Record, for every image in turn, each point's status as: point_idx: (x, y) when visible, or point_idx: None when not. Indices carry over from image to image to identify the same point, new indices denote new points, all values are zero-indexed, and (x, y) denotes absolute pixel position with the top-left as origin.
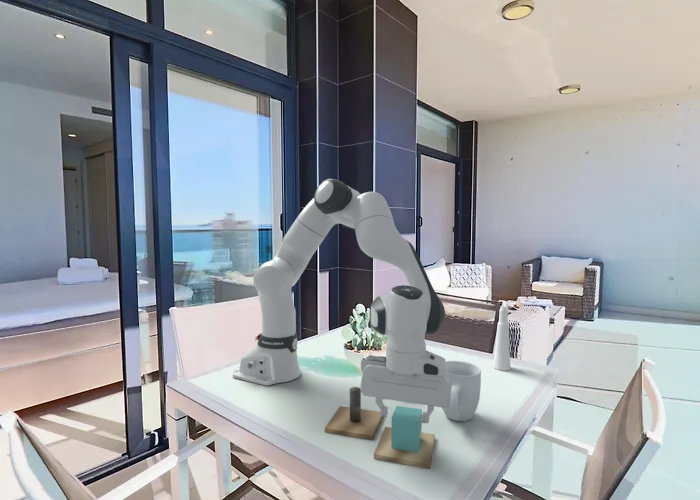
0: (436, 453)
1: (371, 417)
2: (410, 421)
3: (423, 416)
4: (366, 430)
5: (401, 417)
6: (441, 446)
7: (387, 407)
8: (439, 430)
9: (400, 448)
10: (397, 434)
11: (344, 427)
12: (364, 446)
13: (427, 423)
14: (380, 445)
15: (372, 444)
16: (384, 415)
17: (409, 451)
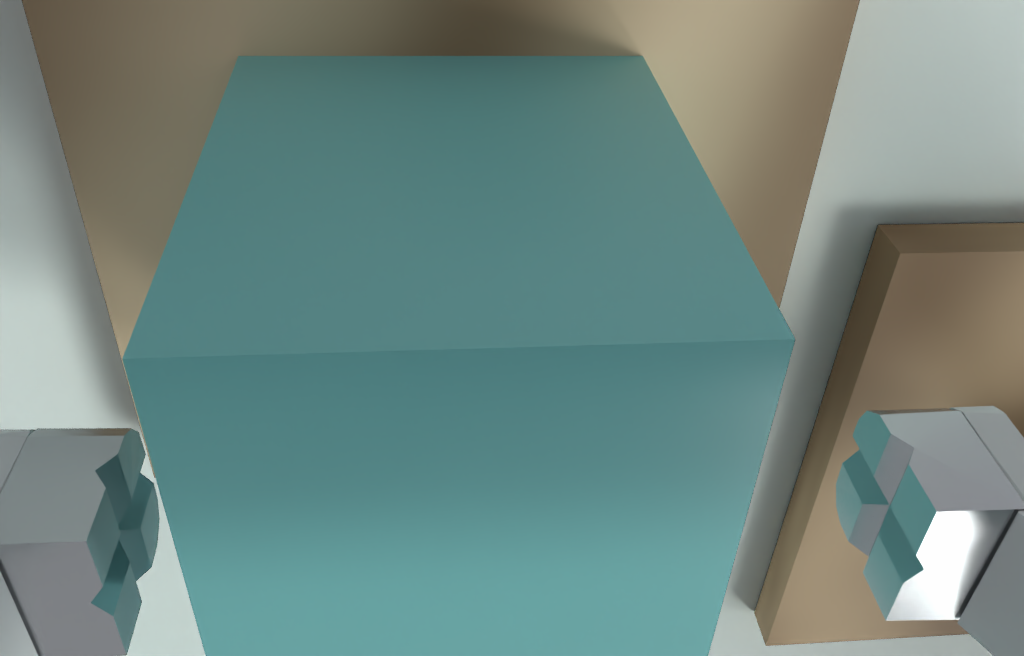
0: (40, 182)
1: None
2: (336, 341)
3: (45, 534)
4: (968, 332)
5: (567, 415)
6: (35, 331)
7: (897, 601)
8: (158, 567)
9: (508, 63)
10: (588, 162)
11: None
12: (991, 64)
13: (5, 430)
14: (799, 74)
15: (881, 136)
16: (919, 421)
17: (369, 46)
